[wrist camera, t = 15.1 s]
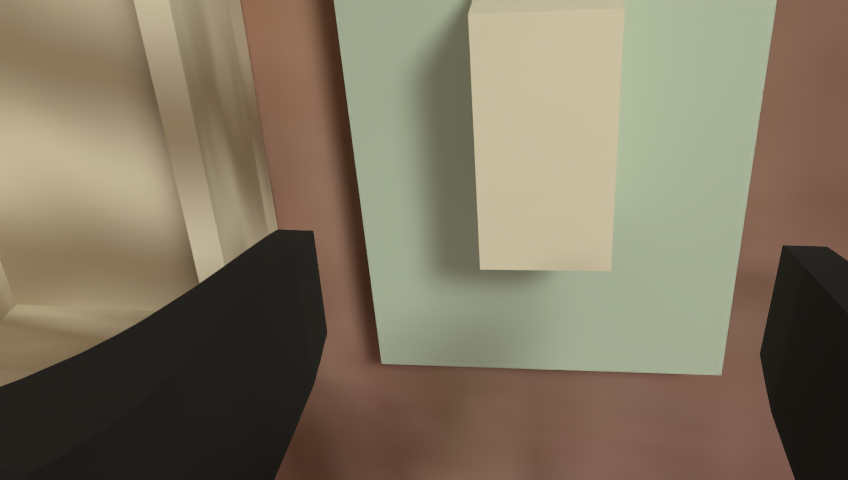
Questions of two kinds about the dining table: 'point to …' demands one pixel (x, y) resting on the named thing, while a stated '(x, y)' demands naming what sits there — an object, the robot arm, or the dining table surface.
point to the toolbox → (120, 166)
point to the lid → (554, 176)
